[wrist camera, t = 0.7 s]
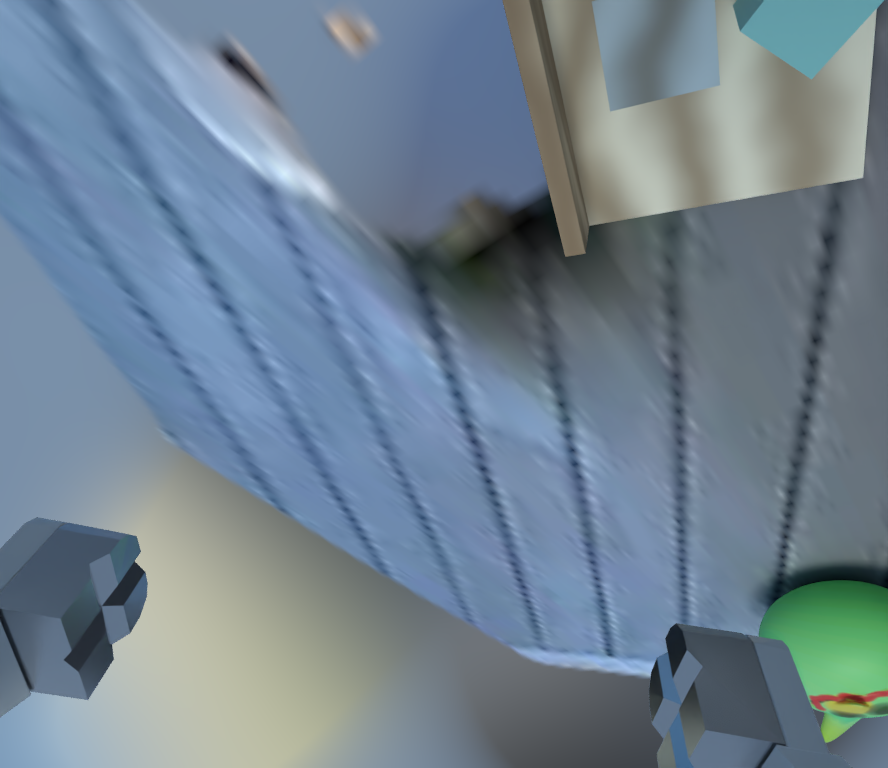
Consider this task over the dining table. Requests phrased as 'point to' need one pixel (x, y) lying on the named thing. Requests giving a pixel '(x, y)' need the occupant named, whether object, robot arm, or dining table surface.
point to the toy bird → (836, 648)
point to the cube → (802, 27)
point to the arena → (678, 108)
